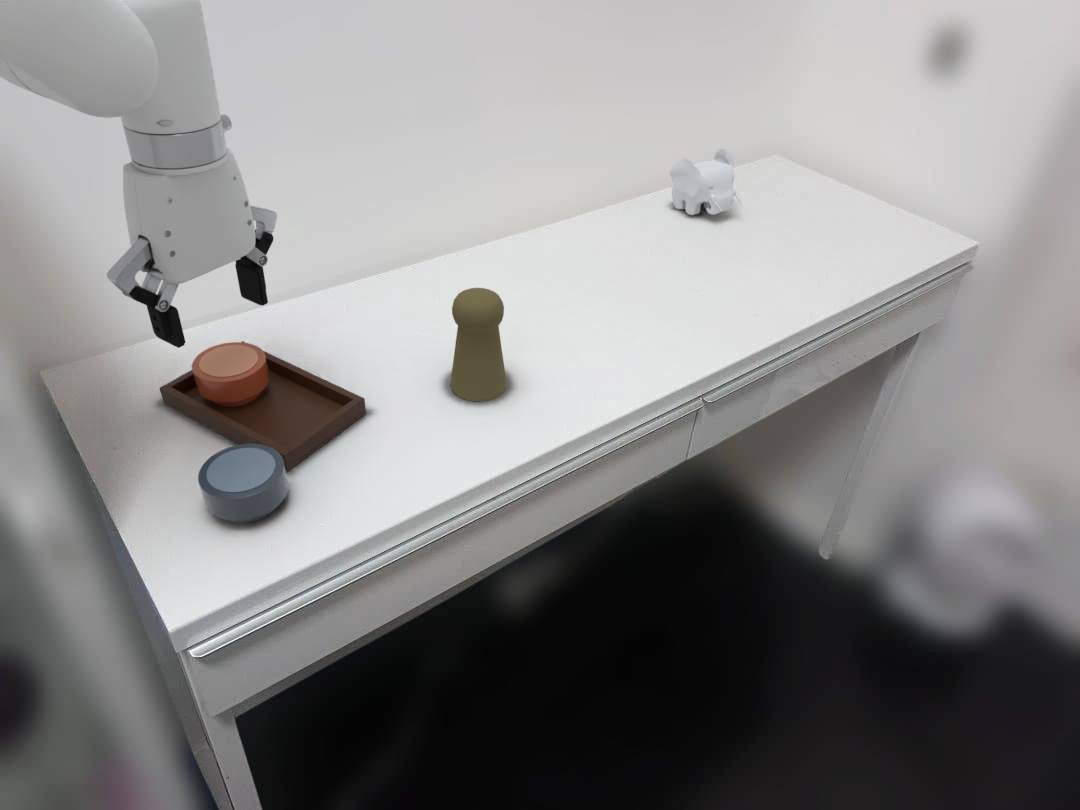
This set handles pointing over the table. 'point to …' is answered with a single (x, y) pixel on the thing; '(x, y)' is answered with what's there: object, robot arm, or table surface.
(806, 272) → the table surface
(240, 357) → the terracotta dish
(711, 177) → the elephant figurine
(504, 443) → the table surface
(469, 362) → the pepper shaker
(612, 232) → the table surface
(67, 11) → the robot arm
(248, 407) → the tray
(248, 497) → the slate dish
